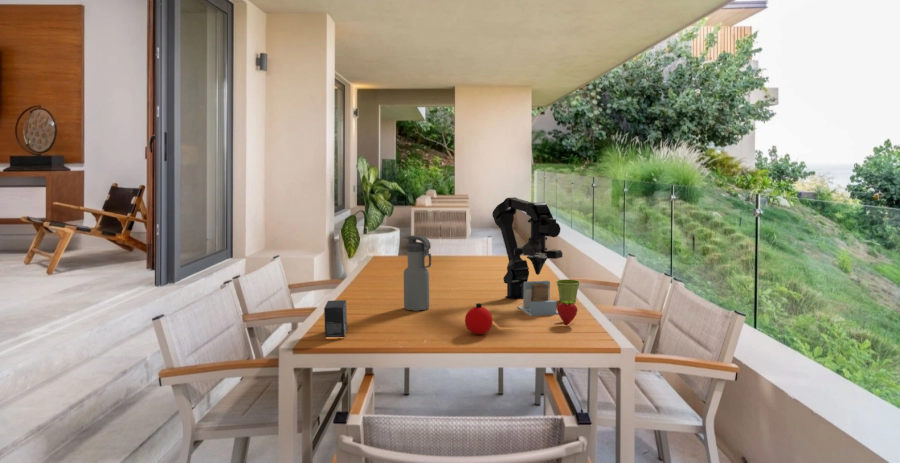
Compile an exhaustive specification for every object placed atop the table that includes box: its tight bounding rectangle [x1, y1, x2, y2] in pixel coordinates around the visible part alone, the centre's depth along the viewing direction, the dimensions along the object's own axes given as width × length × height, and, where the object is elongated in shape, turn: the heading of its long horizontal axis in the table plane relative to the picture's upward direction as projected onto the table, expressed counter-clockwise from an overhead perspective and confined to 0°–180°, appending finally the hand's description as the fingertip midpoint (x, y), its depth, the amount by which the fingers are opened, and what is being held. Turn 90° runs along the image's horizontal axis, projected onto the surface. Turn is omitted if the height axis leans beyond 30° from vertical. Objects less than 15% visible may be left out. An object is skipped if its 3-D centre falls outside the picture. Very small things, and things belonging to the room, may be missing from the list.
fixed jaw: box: [529, 299, 557, 316], centre depth 223 cm, size 2×10×4 cm, turn 101°
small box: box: [323, 299, 348, 338], centre depth 199 cm, size 11×6×10 cm, turn 5°
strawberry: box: [556, 296, 578, 326], centre depth 210 cm, size 6×8×10 cm
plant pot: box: [555, 278, 581, 303], centre depth 244 cm, size 9×9×9 cm
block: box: [531, 284, 548, 301], centre depth 226 cm, size 4×5×10 cm
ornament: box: [464, 303, 494, 336], centre depth 199 cm, size 9×9×10 cm
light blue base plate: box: [517, 305, 559, 317], centre depth 228 cm, size 14×11×1 cm
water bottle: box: [403, 235, 432, 312], centre depth 235 cm, size 10×10×28 cm
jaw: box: [522, 280, 551, 309], centre depth 229 cm, size 2×10×10 cm, turn 101°
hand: (537, 274), depth 241 cm, fingers closed
